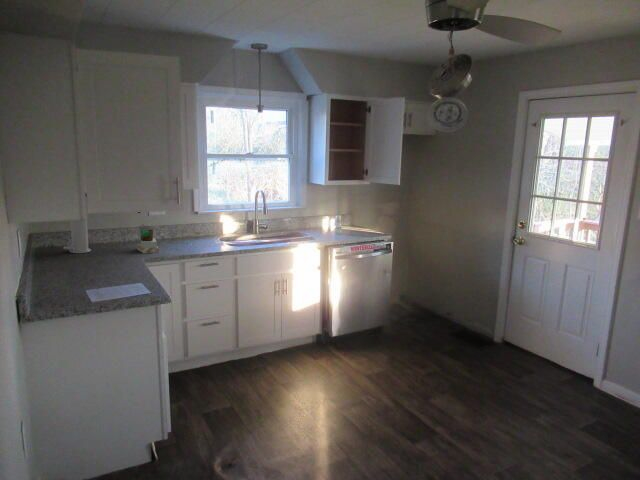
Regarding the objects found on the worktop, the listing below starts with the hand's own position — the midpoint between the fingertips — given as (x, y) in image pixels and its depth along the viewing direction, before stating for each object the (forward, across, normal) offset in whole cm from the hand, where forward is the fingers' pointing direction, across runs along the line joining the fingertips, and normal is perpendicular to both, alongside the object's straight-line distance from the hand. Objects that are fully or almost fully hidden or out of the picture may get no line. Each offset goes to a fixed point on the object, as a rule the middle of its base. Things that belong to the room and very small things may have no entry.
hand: (146, 212), depth 316 cm
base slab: (+27, +1, -1) cm, 27 cm away
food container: (+19, -1, -1) cm, 19 cm away
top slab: (+23, +1, -2) cm, 23 cm away
